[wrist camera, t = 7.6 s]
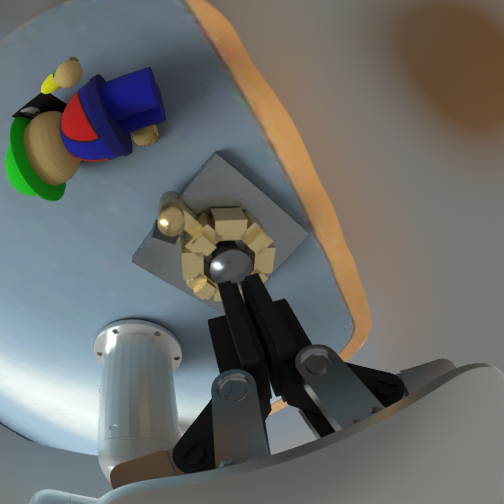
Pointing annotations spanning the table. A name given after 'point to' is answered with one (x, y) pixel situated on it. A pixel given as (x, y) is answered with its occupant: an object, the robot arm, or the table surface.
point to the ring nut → (213, 240)
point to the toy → (80, 127)
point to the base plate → (227, 252)
